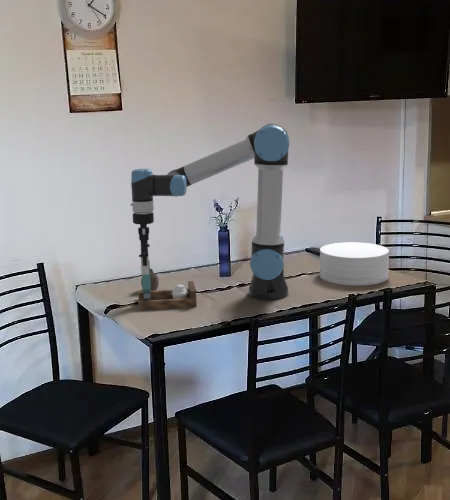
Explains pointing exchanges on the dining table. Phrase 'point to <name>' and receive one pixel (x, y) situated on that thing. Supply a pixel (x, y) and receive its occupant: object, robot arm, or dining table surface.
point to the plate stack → (354, 263)
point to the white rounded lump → (179, 292)
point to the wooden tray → (168, 299)
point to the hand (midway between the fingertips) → (145, 269)
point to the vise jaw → (146, 285)
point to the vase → (153, 281)
